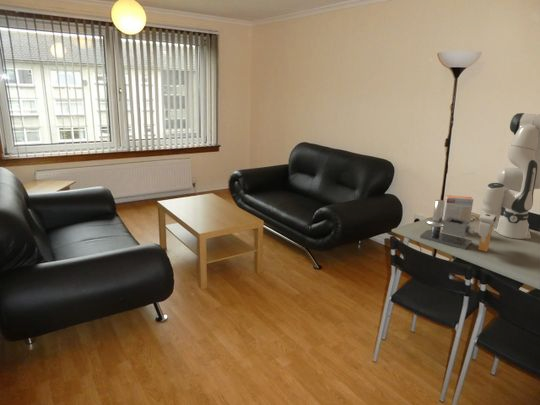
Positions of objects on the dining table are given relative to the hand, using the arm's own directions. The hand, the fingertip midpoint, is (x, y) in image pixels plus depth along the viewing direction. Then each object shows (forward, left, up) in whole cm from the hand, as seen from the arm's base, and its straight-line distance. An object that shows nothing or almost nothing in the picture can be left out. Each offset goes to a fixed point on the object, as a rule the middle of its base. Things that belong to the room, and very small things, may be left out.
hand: (485, 239), depth 205 cm
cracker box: (-19, -20, -6) cm, 28 cm away
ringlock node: (0, -19, -6) cm, 20 cm away
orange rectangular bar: (0, 0, -6) cm, 6 cm away
